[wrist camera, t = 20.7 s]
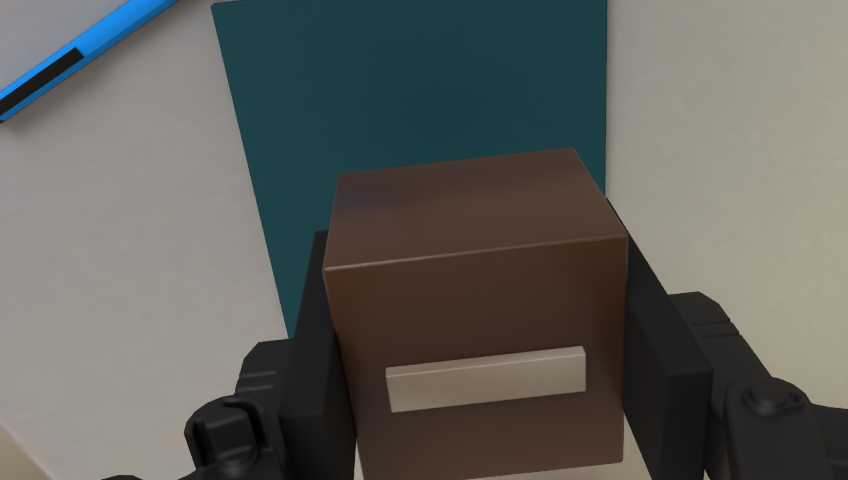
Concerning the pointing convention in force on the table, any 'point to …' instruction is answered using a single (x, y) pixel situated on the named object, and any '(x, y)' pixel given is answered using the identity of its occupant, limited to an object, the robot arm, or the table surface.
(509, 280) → the tile
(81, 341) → the table surface
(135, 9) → the pen
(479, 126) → the mat
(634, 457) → the table surface
